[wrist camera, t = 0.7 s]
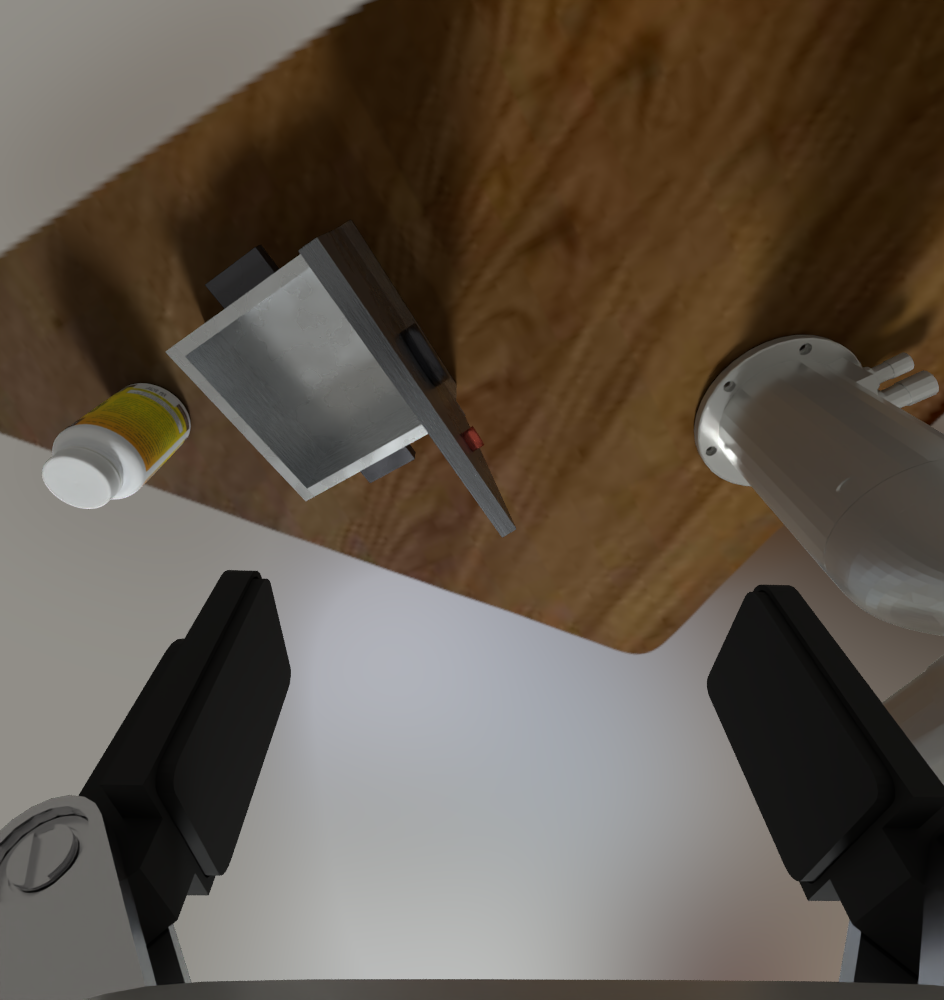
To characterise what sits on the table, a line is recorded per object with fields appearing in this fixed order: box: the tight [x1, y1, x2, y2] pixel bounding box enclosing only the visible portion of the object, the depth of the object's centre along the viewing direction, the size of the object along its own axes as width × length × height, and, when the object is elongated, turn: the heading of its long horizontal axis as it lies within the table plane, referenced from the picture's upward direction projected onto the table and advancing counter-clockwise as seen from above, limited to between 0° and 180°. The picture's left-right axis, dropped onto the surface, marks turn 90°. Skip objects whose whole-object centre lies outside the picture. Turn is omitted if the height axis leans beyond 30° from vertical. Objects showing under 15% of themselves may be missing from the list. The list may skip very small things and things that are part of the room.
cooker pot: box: [166, 220, 457, 501], centre depth 36 cm, size 13×16×6 cm
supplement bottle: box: [42, 383, 191, 509], centre depth 36 cm, size 6×6×10 cm
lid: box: [299, 226, 516, 537], centre depth 25 cm, size 15×13×2 cm
